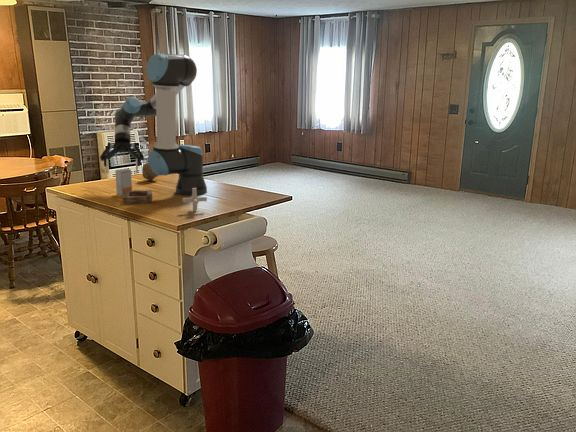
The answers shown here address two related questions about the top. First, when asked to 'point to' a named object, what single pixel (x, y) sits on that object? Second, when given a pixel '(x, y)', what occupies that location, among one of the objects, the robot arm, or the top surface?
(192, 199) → the pipe connector
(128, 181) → the skincare box
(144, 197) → the socket
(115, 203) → the top surface
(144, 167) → the natural sponge
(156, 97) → the robot arm
